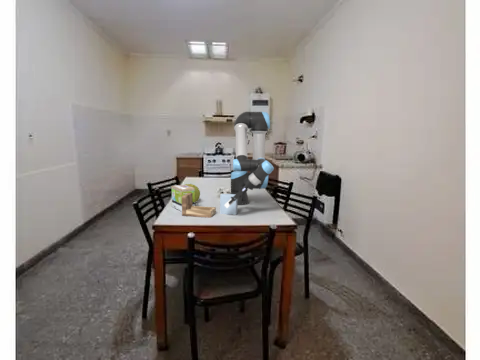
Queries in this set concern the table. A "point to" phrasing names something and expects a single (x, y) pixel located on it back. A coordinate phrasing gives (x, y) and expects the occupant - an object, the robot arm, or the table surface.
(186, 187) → the tea box
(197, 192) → the fruit
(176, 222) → the table surface
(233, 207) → the pale blue rectangular block
